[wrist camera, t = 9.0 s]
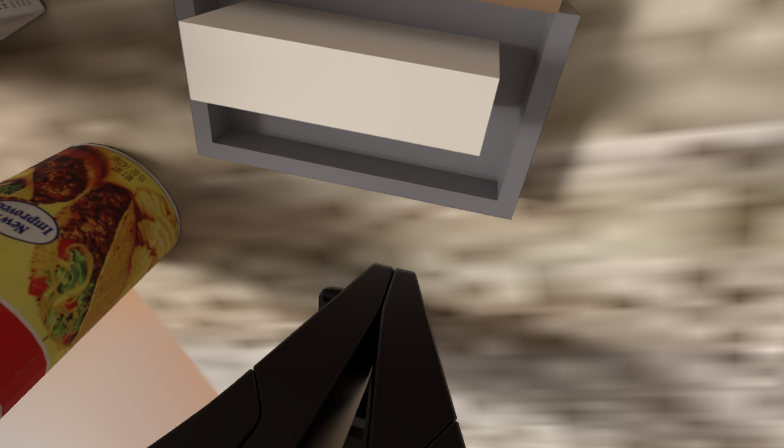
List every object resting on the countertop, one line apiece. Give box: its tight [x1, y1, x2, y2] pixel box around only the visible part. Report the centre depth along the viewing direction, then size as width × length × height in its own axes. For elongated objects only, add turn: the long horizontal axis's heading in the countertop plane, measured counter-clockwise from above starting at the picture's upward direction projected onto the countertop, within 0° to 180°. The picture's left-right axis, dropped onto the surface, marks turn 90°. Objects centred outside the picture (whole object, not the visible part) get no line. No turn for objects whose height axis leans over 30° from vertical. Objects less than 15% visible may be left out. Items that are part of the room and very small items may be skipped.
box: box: [174, 0, 581, 220], centre depth 18 cm, size 8×15×2 cm, turn 83°
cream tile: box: [178, 0, 500, 156], centre depth 16 cm, size 5×10×2 cm
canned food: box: [0, 143, 180, 419], centre depth 21 cm, size 8×8×12 cm
